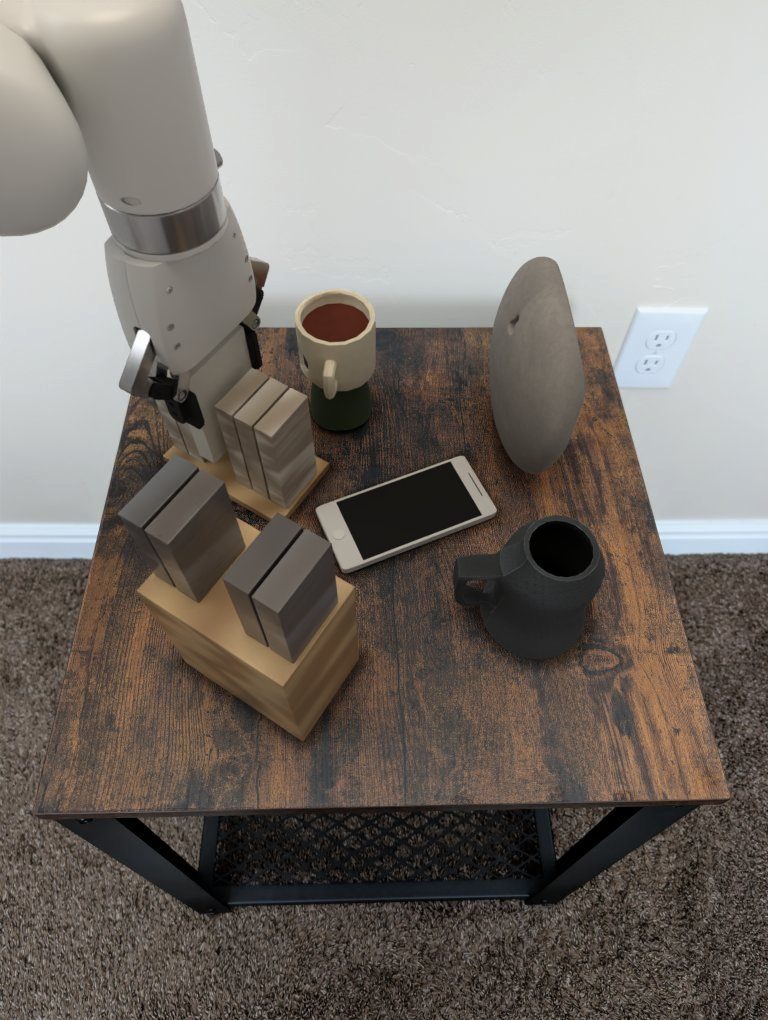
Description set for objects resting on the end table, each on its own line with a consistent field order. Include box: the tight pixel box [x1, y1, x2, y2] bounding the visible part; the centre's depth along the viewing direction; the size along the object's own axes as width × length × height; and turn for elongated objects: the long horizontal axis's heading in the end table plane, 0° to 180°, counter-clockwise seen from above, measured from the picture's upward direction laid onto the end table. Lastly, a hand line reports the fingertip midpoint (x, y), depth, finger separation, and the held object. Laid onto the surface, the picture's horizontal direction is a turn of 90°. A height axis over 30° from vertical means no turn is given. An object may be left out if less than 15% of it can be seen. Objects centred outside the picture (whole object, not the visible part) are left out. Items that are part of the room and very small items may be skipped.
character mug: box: [294, 288, 377, 432], centre depth 67 cm, size 11×7×13 cm, turn 174°
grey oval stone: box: [488, 256, 587, 475], centre depth 63 cm, size 18×7×19 cm, turn 3°
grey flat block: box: [169, 325, 252, 464], centre depth 60 cm, size 2×7×11 cm, turn 148°
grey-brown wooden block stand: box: [149, 367, 330, 523], centre depth 63 cm, size 14×8×12 cm, turn 58°
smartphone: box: [315, 455, 498, 574], centre depth 65 cm, size 7×16×1 cm, turn 113°
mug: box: [452, 514, 606, 661], centre depth 56 cm, size 12×9×11 cm
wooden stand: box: [117, 454, 360, 742], centre depth 49 cm, size 12×8×22 cm, turn 58°
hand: (218, 389), depth 60 cm, fingers closed on grey flat block, 7 cm apart
